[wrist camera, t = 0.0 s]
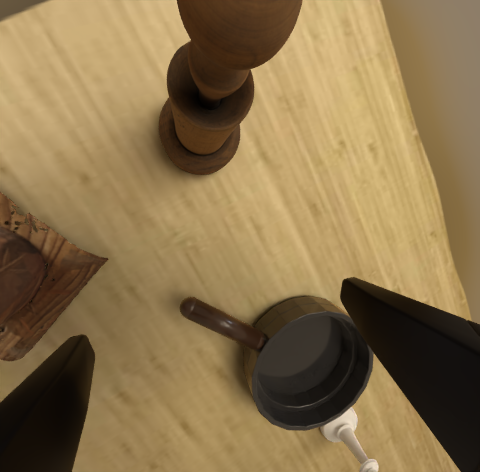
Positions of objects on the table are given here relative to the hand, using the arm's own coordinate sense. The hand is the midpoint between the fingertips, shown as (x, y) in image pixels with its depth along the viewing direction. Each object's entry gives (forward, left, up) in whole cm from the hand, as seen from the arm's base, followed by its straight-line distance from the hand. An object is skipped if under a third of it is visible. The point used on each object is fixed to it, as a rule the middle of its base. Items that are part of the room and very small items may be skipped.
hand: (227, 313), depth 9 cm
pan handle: (-5, -6, -13) cm, 16 cm away
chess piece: (-11, -27, -16) cm, 33 cm away
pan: (-5, -16, -15) cm, 23 cm away
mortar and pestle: (+8, +5, -16) cm, 18 cm away
